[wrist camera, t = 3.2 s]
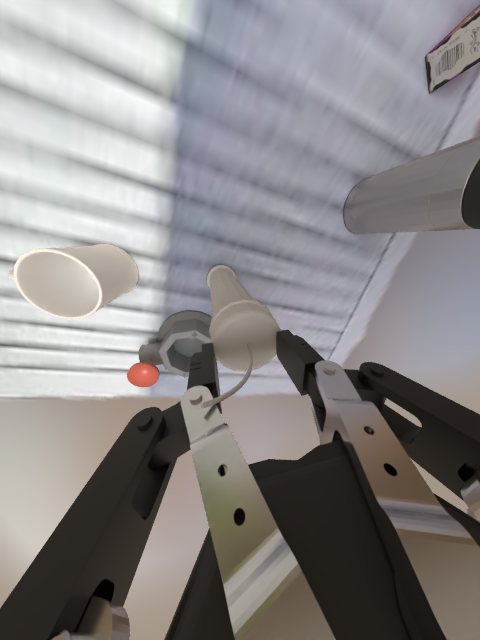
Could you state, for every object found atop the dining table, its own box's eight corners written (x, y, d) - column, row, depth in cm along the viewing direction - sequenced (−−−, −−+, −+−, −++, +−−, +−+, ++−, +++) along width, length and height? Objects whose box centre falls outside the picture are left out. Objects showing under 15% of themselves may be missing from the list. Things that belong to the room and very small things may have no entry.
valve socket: (218, 306, 36) (222, 326, 28) (226, 358, 42) (231, 388, 34) (134, 318, 34) (110, 344, 25) (155, 371, 40) (142, 407, 32)
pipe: (227, 295, 36) (295, 461, 9) (199, 283, 34) (176, 454, 7) (239, 270, 34) (365, 385, 7) (209, 256, 32) (233, 345, 5)
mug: (62, 284, 29) (-19, 310, 19) (54, 231, 26) (-49, 225, 16) (138, 297, 33) (105, 325, 22) (139, 251, 29) (102, 257, 19)
